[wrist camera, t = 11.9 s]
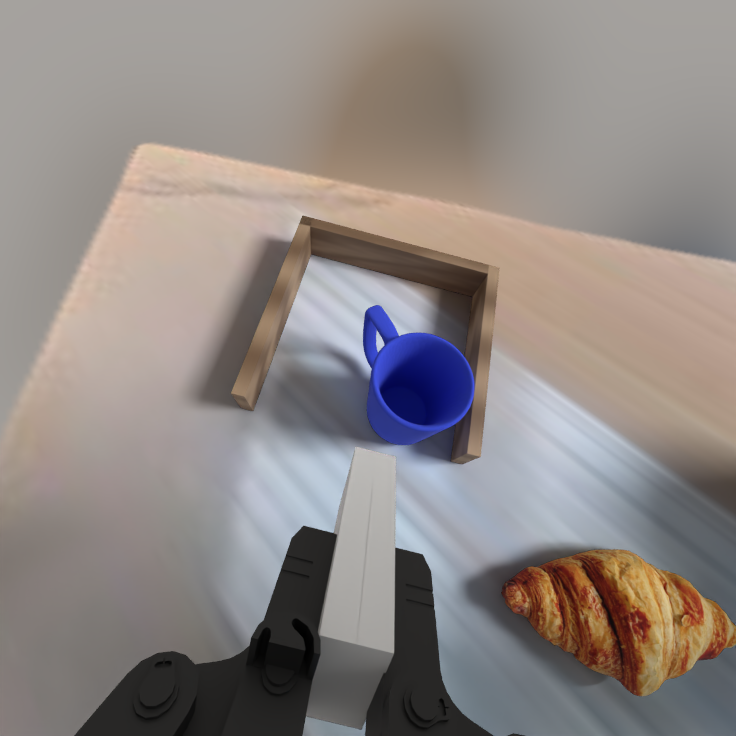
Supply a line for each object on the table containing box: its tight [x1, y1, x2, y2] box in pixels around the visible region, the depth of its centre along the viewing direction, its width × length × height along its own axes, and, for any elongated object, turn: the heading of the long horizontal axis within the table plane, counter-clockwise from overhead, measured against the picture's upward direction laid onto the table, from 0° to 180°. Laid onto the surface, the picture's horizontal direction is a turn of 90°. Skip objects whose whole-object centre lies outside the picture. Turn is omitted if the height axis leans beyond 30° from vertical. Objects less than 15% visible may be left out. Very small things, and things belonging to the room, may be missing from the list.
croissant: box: [501, 549, 736, 696], centre depth 31 cm, size 21×10×8 cm, turn 83°
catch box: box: [231, 216, 499, 464], centre depth 38 cm, size 21×22×4 cm
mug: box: [363, 305, 475, 445], centre depth 34 cm, size 8×12×10 cm
